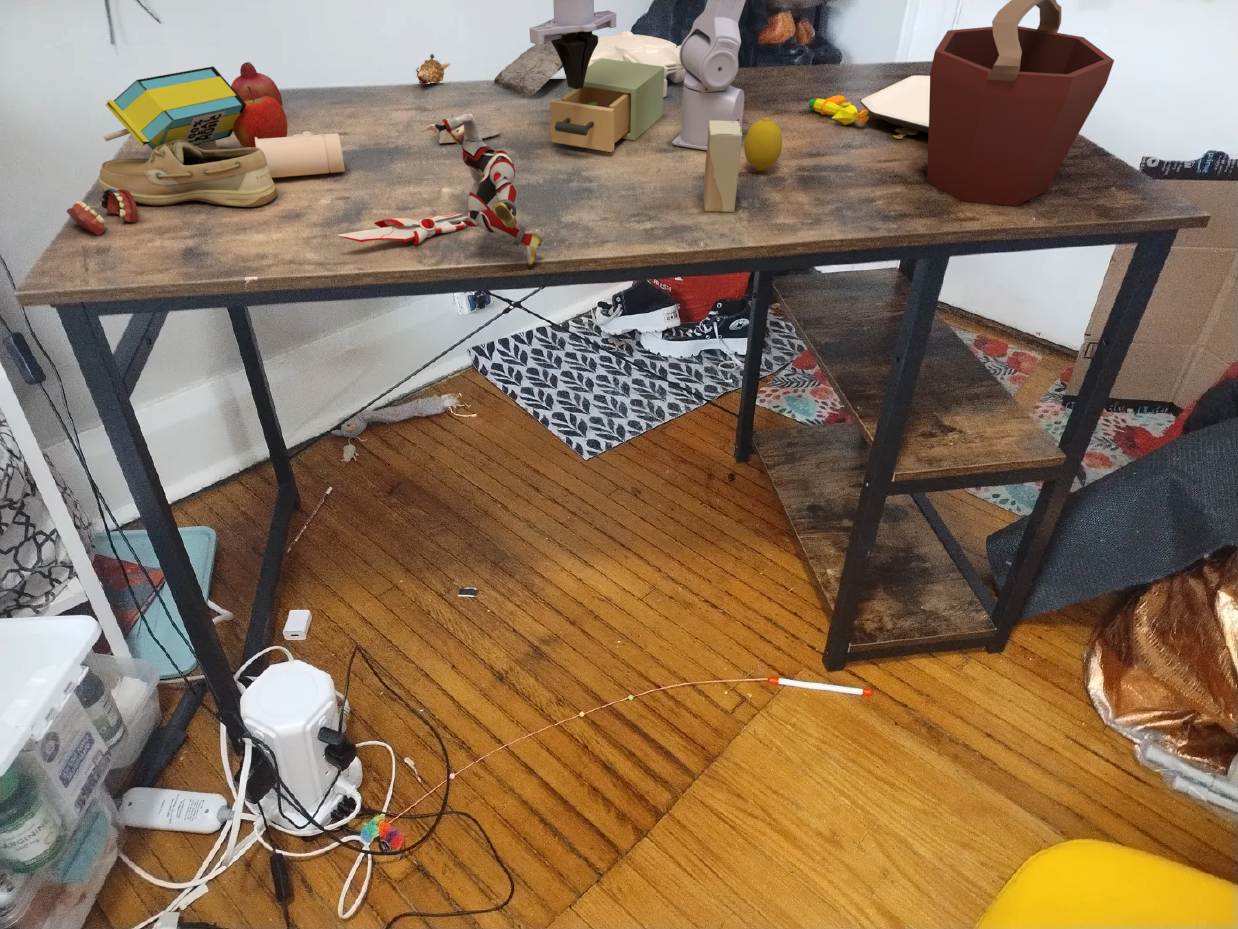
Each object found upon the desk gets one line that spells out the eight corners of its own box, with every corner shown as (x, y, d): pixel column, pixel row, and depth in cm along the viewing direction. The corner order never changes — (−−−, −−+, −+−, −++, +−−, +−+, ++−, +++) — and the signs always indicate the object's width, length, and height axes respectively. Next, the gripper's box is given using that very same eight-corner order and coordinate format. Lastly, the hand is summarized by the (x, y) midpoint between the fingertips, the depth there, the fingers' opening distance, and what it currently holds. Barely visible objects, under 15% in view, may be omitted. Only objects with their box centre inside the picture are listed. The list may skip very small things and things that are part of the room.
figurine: (397, 82, 161) (413, 103, 163) (414, 70, 158) (431, 92, 160) (435, 48, 169) (450, 69, 171) (452, 36, 166) (467, 58, 168)
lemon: (777, 164, 137) (784, 111, 132) (779, 179, 133) (786, 125, 127) (741, 163, 137) (747, 110, 132) (742, 177, 133) (747, 123, 128)
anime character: (372, 317, 101) (314, 199, 115) (458, 374, 114) (396, 261, 127) (519, 179, 97) (440, 73, 110) (591, 255, 110) (512, 151, 123)
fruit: (285, 132, 145) (270, 68, 139) (233, 136, 144) (216, 71, 138) (289, 115, 151) (275, 53, 145) (240, 118, 150) (223, 56, 144)
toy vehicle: (547, 31, 169) (549, 66, 173) (599, 74, 152) (599, 111, 156) (657, 15, 176) (656, 48, 180) (718, 54, 159) (716, 90, 163)
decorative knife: (928, 117, 152) (952, 125, 149) (927, 120, 152) (951, 128, 149) (883, 131, 146) (907, 140, 143) (883, 134, 147) (907, 143, 144)
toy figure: (880, 119, 149) (830, 104, 157) (880, 98, 147) (830, 83, 155) (849, 134, 147) (801, 118, 155) (849, 113, 145) (800, 97, 153)
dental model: (56, 197, 116) (115, 179, 121) (67, 227, 119) (125, 208, 124) (77, 210, 114) (137, 191, 119) (89, 240, 117) (146, 220, 121)
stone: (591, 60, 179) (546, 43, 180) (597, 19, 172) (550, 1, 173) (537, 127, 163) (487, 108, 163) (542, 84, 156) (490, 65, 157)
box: (702, 196, 128) (708, 118, 121) (732, 197, 128) (740, 119, 120) (704, 212, 124) (710, 133, 117) (735, 213, 124) (742, 133, 116)
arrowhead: (439, 148, 142) (501, 145, 144) (439, 141, 141) (501, 137, 143) (436, 130, 145) (496, 127, 147) (435, 123, 144) (496, 120, 146)
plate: (1014, 162, 136) (1019, 148, 134) (845, 117, 149) (848, 103, 148) (1073, 118, 153) (1078, 105, 152) (917, 82, 167) (920, 69, 166)
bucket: (998, 231, 120) (1057, 33, 104) (868, 179, 133) (902, -4, 117) (1093, 181, 132) (1159, -4, 115) (965, 137, 145) (1008, -34, 128)
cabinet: (634, 140, 144) (635, 89, 139) (570, 130, 148) (568, 79, 142) (662, 115, 153) (664, 66, 148) (601, 106, 156) (600, 57, 151)
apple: (249, 168, 134) (231, 100, 128) (233, 151, 139) (215, 85, 133) (301, 156, 138) (286, 90, 131) (284, 140, 143) (268, 75, 136)
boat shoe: (92, 202, 124) (70, 145, 119) (126, 176, 131) (107, 121, 126) (262, 215, 123) (248, 158, 117) (288, 188, 129) (275, 133, 124)
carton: (194, 102, 135) (88, 124, 121) (212, 64, 130) (103, 83, 116) (228, 141, 135) (127, 167, 122) (247, 105, 130) (143, 128, 117)
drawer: (601, 161, 135) (600, 119, 131) (540, 150, 138) (538, 109, 134) (639, 127, 146) (640, 88, 142) (581, 118, 149) (581, 79, 145)
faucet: (254, 141, 125) (339, 134, 128) (255, 124, 135) (334, 119, 138) (263, 185, 128) (346, 178, 131) (264, 165, 138) (340, 159, 141)
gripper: (550, -1, 118) (554, 104, 126) (631, -17, 125) (629, 83, 134) (518, -11, 122) (524, 91, 130) (598, -26, 129) (599, 71, 138)
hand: (575, 86), depth 132 cm, fingers closed
